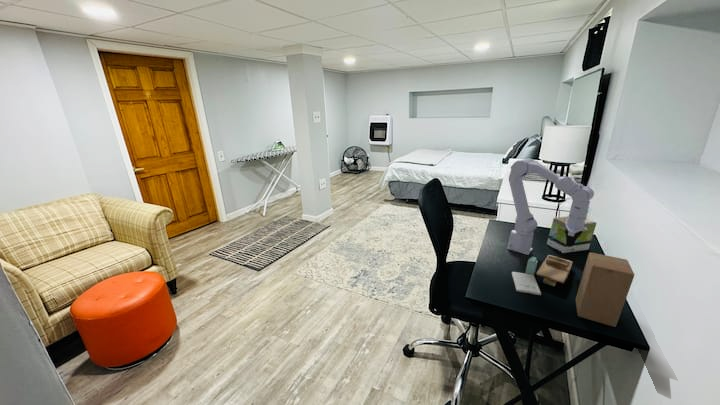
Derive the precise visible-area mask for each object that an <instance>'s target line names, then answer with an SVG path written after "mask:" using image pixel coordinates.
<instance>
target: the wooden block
mask: <svg viewBox="0 0 720 405" xmlns="http://www.w3.org/2000/svg"><path fill="white" fill-rule="evenodd" d="M629 262H630V261H629V260H628V259H625V258H620V257H616V256H615V257H614V256H610V255H605V254H600V253H596V252H590V251H589V253H588V254H587V258H586V262H585V264H584V269H583V272H582V276H581V279H580V282H579V286H578V290H577V293H576V297H575V306H576V313H577V316H578V317H579V318H583V319H586V320H590V321H593V322H596V323H600V324H603V325H606V326H610V327H613V328H616V327H617V324H618V322H619V319H620V317H621V315H622V314H621V313H622V310H623V309H624V308H623V307H624V305H625V303H626V301H627V297H628V295H629V292H630V288H631V287H632V283H633V281H634V277H635V273H634V271H633V269H632V267H631V265H630V263H629Z"/></svg>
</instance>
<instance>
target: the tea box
mask: <svg viewBox="0 0 720 405" xmlns="http://www.w3.org/2000/svg"><path fill="white" fill-rule="evenodd" d="M568 216H569V215H568ZM568 216H560V217H553V219H552V223H551V227H550V231H549V234H548V238H547V242H546V245H548V246H550V247H551V248H553V249H555V250H556V249H557V250H556V251H558V250H559V252H560V251H561V252H560V253H562V254H566V253H572V252H573V253H574V252H580V251H587V250H589V248H590V245H591V242H592V239H593V236H594V233H595V229H596V226H597V222H596V221H594V220H591V219H588V218H586V220H585V223H584V227H586V228H587V230H586V231H585V230H582V234H581V235H580V236H579V237H578V238H577V239H576V241H575V243H574V245H573V246H572V247H571V246H567V244H566V234H565V229H566V224H567V220H568Z"/></svg>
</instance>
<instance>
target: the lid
mask: <svg viewBox="0 0 720 405" xmlns="http://www.w3.org/2000/svg"><path fill="white" fill-rule="evenodd" d="M546 258H547V257H546ZM568 272H569V268H567V264H566V263H563V262H559V261H556V260H553V259H549V258H547V260H546V261H545V260H544V261H543V262H542V263H541V265H540V267H539V269H537V272H535V274H536V275H537V276H540V277H542V278H544V277H545V278H548V279H551V280H554V281H556V283H557V282H558V283H561V284H564V283H565V282H566V281H565V279H566V276H567V274H568ZM569 273H570V272H569ZM568 275H569V274H568ZM566 280H567V279H566Z"/></svg>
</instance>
